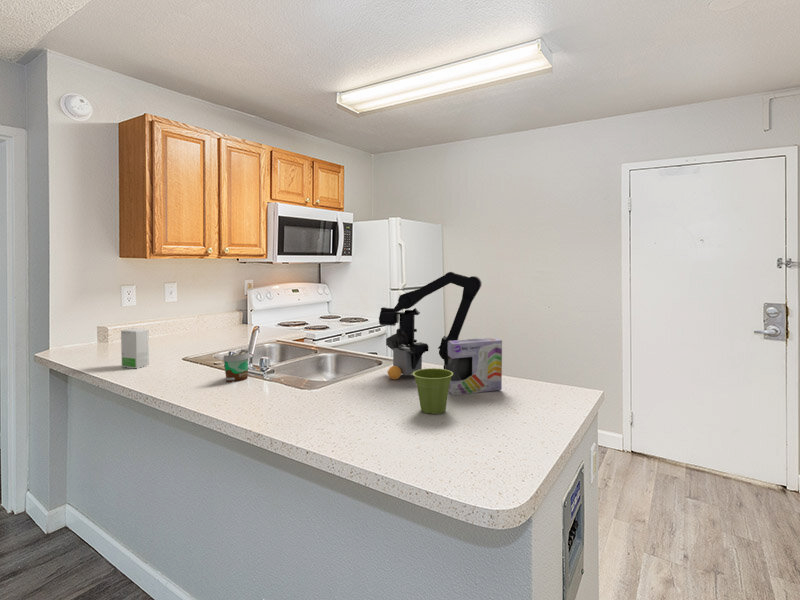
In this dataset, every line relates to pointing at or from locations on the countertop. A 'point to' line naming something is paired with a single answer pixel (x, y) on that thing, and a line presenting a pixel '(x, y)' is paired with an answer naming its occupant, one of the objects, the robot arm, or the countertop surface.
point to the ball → (394, 372)
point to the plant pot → (433, 389)
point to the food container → (237, 366)
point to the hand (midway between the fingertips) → (406, 367)
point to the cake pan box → (475, 365)
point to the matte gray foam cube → (405, 360)
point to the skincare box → (135, 348)
